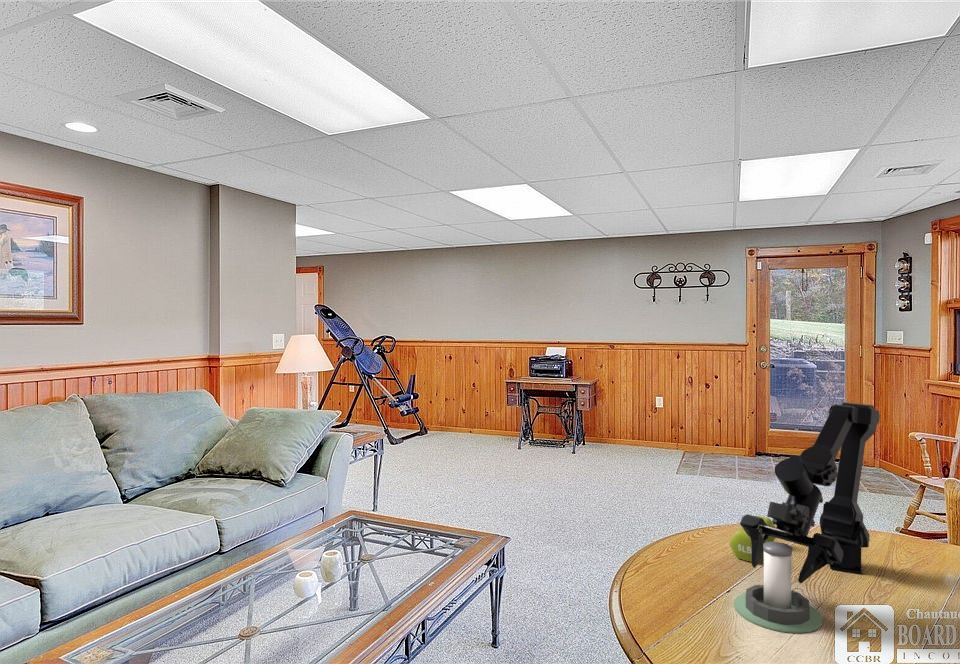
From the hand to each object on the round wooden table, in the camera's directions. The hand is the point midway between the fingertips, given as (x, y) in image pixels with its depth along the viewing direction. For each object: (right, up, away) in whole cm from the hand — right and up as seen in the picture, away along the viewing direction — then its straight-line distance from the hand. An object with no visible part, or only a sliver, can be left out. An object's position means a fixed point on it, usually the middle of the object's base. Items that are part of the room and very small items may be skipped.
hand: (775, 574), depth 118 cm
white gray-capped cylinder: (+1, -7, +1) cm, 8 cm away
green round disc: (0, -8, +1) cm, 8 cm away
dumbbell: (+10, -7, +31) cm, 33 cm away
